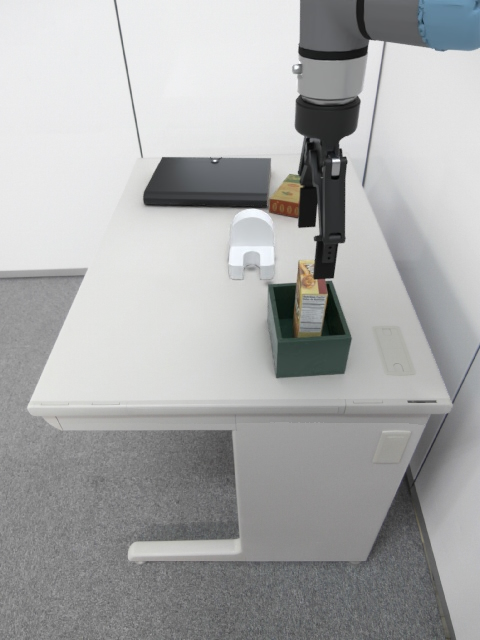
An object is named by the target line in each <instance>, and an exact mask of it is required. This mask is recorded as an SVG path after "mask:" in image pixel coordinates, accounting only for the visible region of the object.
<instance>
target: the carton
mask: <svg viewBox="0 0 480 640" xmlns="http://www.w3.org/2000/svg"><path fill="white" fill-rule="evenodd" d="M300 177H301V176H299V175H298V174H294V173H289V174H288V175H287V176H286V177H285V179H284V180H283V181H282V183H281V184H280V185H279V186H278V188H277V189H276V190H275V191H274V193H273V194H272V195H271V196H270V197H269V198H268V212H269V213H272V214H277V215H282V216H286V217H291V218H298V215H299V197H300V187H303V186H301V185H300V183H299V180H300ZM314 187H315V186H314Z"/></svg>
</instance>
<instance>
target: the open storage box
mask: <svg viewBox="0 0 480 640" xmlns="http://www.w3.org/2000/svg"><path fill="white" fill-rule="evenodd" d="M325 281H326V286H327V292H328V296H327V303H326V309H325V316H324V322H323V328H322V335H321V336H318V337H302V338H293V317H294V306H295V295H296V283H297V282H281V283H269V284H267V311H266V312H267V313H266V316H267V319H266V320H267V327H268V333H269V340H270V346H271V352H272V353H271V354H272V360H273V365H274V366H273V367H274V372H275V378H276V379H283V378H299V377H313V376H330V375H345V374H346V368H347V364H348V359H349V355H350V350H351V349H350V348H351V344H352V339H353V337H352V334H351V332H350V329H349V326H348V323H347V322H348V321H347V320H346V317H345V314H344V311H343V307H342V306H341V305H342V304H341V302H340V299H339V295H338V293H337V290H336V287H335V284H334V282H333V280H325Z"/></svg>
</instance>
